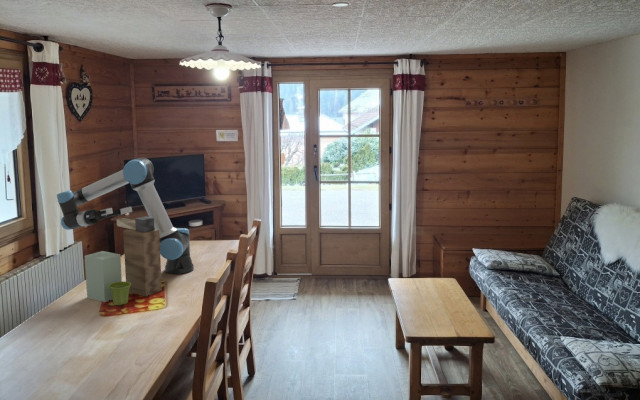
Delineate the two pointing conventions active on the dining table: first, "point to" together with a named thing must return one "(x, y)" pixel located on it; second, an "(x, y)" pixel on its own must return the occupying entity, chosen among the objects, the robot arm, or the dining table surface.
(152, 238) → the stand tall
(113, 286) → the plant pot
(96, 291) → the pale green block
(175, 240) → the robot arm
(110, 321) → the dining table surface
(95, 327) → the dining table surface
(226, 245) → the dining table surface
